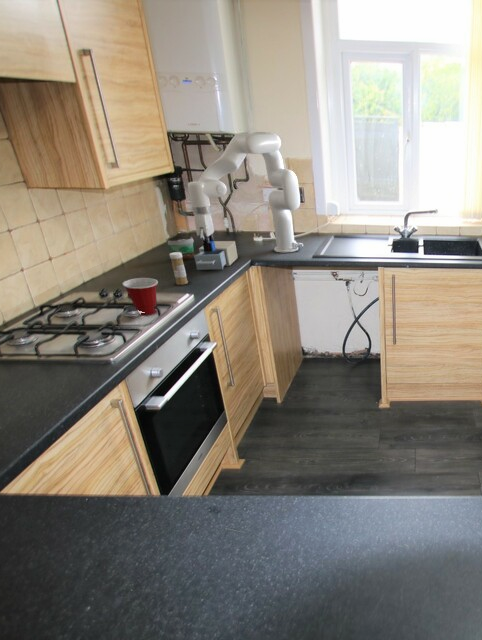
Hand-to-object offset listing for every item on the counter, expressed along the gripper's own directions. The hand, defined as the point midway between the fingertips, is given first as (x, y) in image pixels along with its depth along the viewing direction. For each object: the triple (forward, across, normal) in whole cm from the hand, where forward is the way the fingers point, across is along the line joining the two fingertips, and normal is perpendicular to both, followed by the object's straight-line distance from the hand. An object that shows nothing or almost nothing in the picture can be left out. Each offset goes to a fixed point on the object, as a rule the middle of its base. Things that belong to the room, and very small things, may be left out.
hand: (209, 249), depth 221 cm
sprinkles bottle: (+9, +23, -6) cm, 25 cm away
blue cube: (0, 0, 0) cm, 0 cm away
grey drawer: (+8, 0, 0) cm, 8 cm away
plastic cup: (+9, +56, -6) cm, 57 cm away
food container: (+9, -17, -18) cm, 27 cm away
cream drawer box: (+9, -11, 0) cm, 15 cm away
